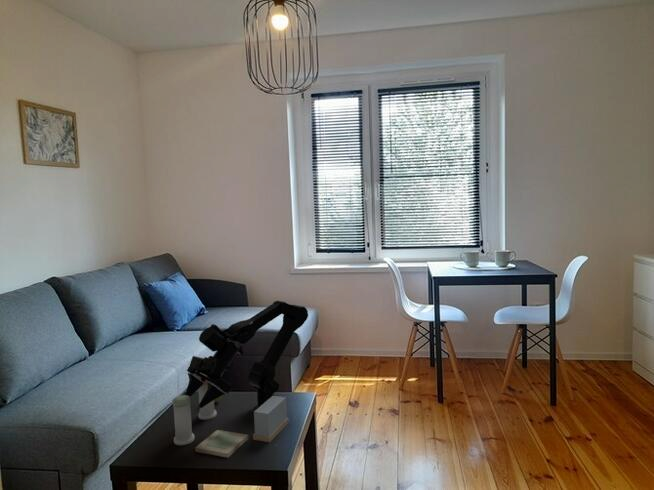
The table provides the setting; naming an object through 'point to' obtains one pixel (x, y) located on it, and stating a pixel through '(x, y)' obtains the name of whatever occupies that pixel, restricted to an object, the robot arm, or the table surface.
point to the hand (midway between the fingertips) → (192, 403)
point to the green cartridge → (182, 420)
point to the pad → (222, 443)
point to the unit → (270, 419)
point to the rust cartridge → (208, 410)
